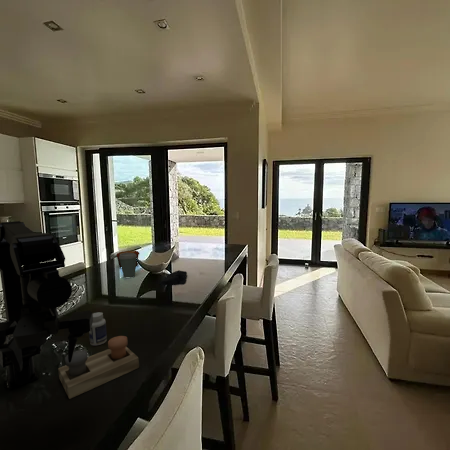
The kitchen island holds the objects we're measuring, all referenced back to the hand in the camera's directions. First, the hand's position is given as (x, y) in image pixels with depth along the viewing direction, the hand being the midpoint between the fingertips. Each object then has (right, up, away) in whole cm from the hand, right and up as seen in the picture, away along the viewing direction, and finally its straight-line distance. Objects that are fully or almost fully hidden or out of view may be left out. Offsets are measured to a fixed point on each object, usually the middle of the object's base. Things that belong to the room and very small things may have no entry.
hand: (46, 365), depth 59 cm
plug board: (+3, -12, +19) cm, 22 cm away
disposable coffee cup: (-22, -3, +116) cm, 118 cm away
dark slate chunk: (+8, -3, +108) cm, 108 cm away
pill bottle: (-5, -10, +36) cm, 38 cm away
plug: (-1, -9, +15) cm, 18 cm away
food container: (-32, -1, +143) cm, 147 cm away
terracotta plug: (+7, -8, +22) cm, 25 cm away
